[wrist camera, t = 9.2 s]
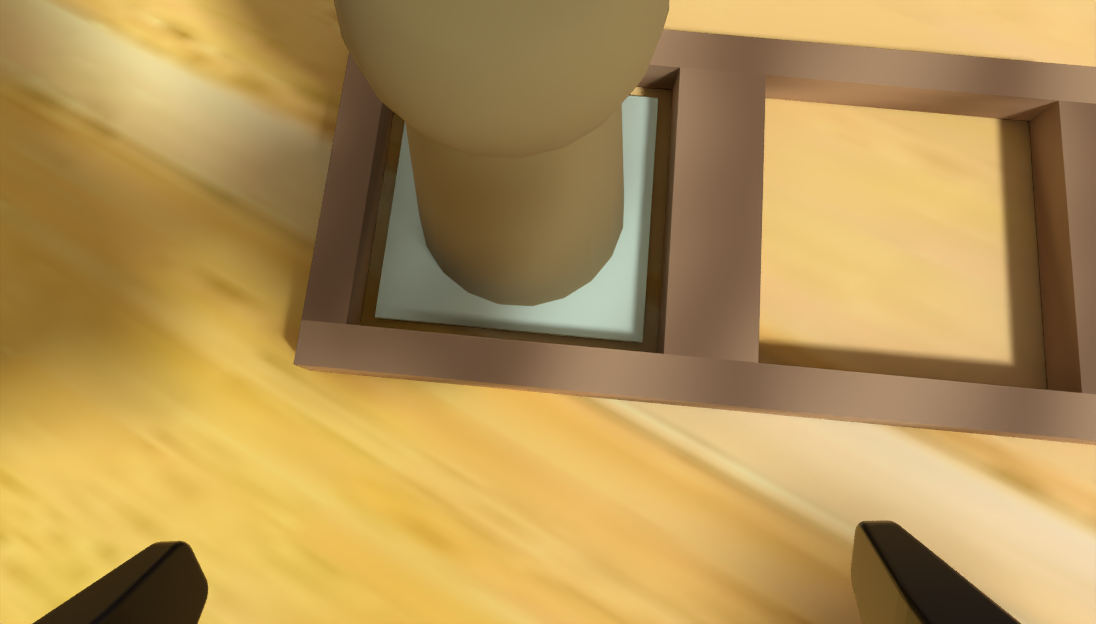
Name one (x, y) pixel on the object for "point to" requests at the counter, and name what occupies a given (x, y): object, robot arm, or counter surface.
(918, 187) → the counter surface
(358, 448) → the counter surface
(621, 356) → the brown wooden frame
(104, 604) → the robot arm
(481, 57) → the cork
